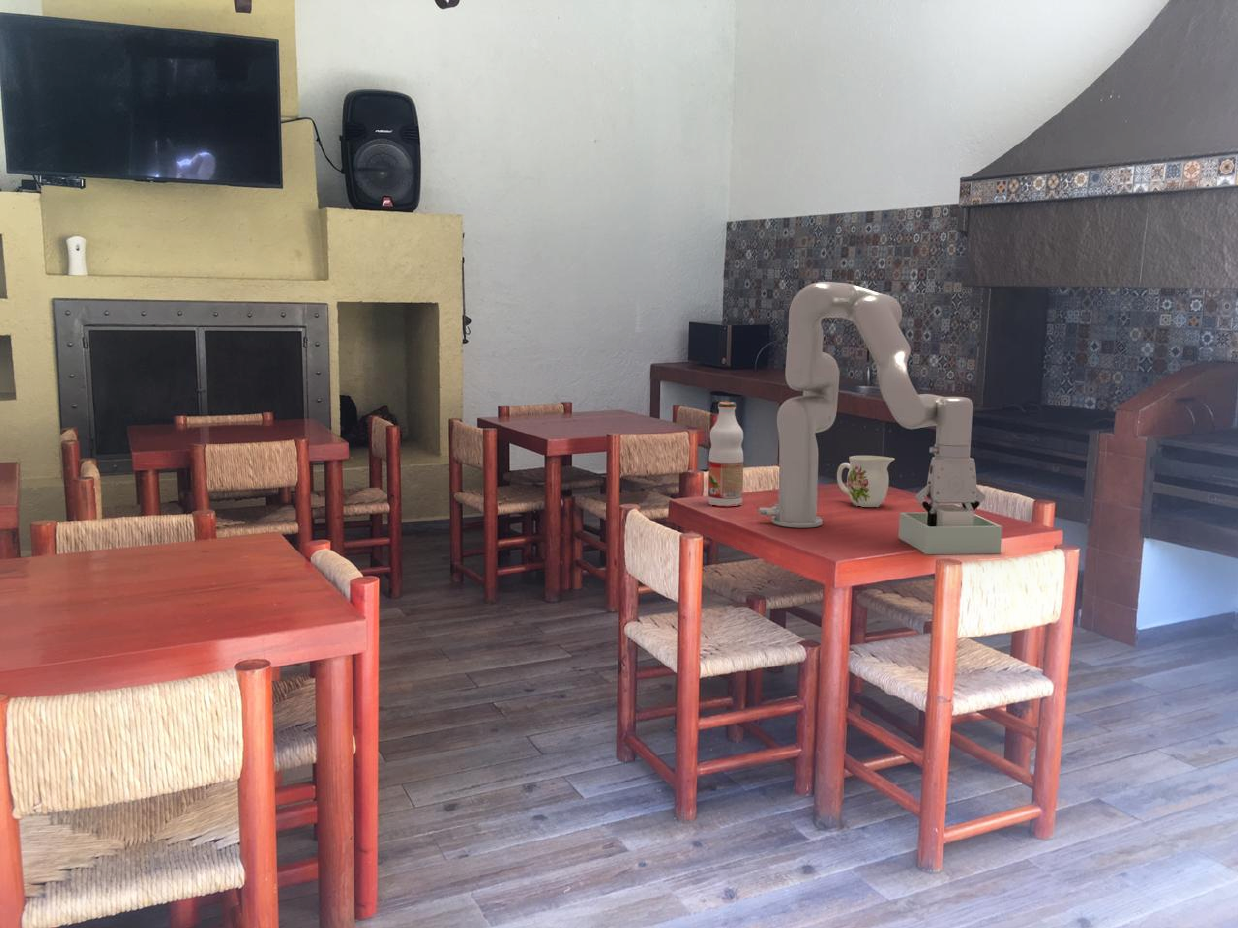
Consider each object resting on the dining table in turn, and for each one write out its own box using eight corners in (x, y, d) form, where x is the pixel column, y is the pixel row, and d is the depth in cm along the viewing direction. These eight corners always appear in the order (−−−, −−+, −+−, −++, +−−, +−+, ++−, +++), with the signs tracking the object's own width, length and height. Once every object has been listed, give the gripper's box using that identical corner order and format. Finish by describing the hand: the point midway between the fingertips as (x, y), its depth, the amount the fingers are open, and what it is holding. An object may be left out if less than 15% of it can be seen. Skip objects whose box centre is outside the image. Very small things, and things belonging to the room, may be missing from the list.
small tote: (942, 538, 236) (943, 512, 235) (925, 529, 246) (926, 503, 245) (972, 538, 237) (973, 511, 236) (954, 529, 247) (955, 503, 246)
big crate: (925, 554, 233) (927, 527, 232) (898, 537, 249) (899, 512, 248) (1000, 553, 234) (1002, 526, 233) (968, 537, 251) (970, 512, 250)
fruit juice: (737, 508, 285) (739, 404, 281) (703, 506, 288) (705, 403, 284) (745, 503, 294) (748, 401, 290) (712, 500, 297) (714, 400, 293)
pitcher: (848, 498, 302) (850, 450, 300) (903, 507, 289) (905, 457, 287) (824, 503, 295) (826, 454, 293) (880, 512, 282) (882, 460, 280)
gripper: (921, 454, 234) (917, 533, 237) (997, 454, 236) (992, 533, 238) (909, 450, 242) (905, 527, 244) (982, 449, 243) (978, 526, 246)
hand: (948, 529), depth 241 cm, fingers closed on small tote, 6 cm apart
